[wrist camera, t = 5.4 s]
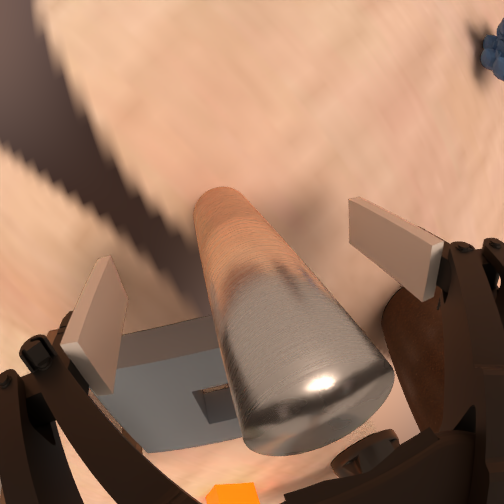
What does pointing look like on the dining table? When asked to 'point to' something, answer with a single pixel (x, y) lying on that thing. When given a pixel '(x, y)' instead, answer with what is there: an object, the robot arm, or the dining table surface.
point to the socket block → (173, 388)
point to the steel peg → (282, 335)
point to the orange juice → (233, 494)
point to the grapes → (494, 52)
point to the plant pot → (417, 354)
